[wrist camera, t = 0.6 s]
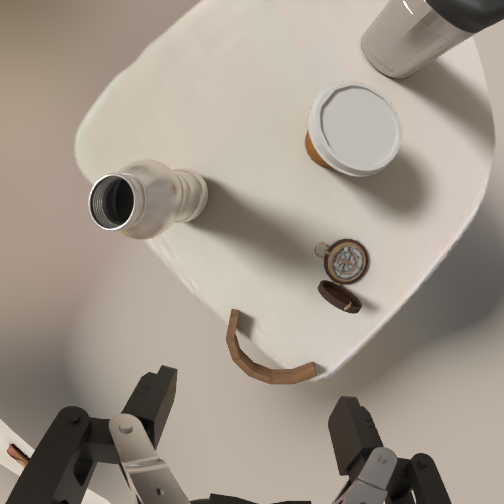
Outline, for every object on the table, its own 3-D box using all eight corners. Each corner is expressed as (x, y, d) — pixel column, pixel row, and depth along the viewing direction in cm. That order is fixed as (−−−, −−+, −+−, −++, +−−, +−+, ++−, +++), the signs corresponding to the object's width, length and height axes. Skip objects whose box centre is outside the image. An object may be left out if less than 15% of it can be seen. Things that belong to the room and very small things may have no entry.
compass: (373, 249, 37) (396, 261, 29) (346, 299, 38) (364, 321, 31) (324, 223, 36) (340, 231, 29) (297, 277, 38) (307, 296, 30)
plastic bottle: (221, 198, 35) (181, 208, 16) (181, 230, 36) (106, 273, 17) (191, 159, 34) (123, 127, 15) (152, 192, 35) (57, 198, 16)
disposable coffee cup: (344, 102, 32) (379, 69, 21) (372, 166, 34) (419, 159, 22) (280, 123, 33) (292, 92, 22) (310, 191, 35) (336, 191, 23)
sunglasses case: (46, 474, 53) (40, 484, 49) (49, 469, 58) (43, 480, 54) (8, 442, 51) (2, 452, 46) (13, 439, 56) (7, 450, 52)
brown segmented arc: (233, 306, 38) (232, 314, 36) (316, 364, 40) (319, 373, 38) (206, 337, 39) (203, 346, 37) (287, 390, 41) (289, 399, 39)
